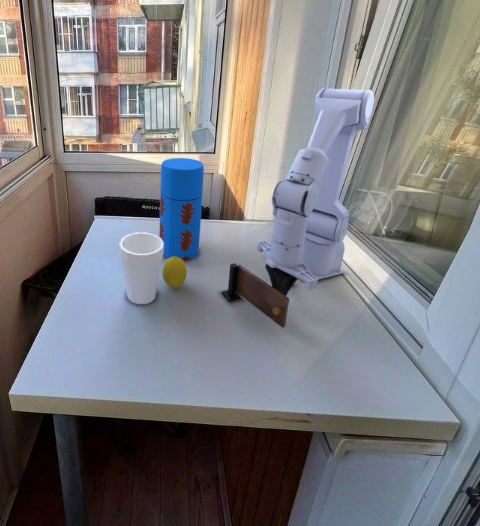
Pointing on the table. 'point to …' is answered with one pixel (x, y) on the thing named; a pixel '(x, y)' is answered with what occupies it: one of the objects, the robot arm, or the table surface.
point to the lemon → (174, 272)
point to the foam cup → (141, 265)
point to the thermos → (181, 206)
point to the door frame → (232, 285)
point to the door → (262, 296)
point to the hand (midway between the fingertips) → (279, 297)
